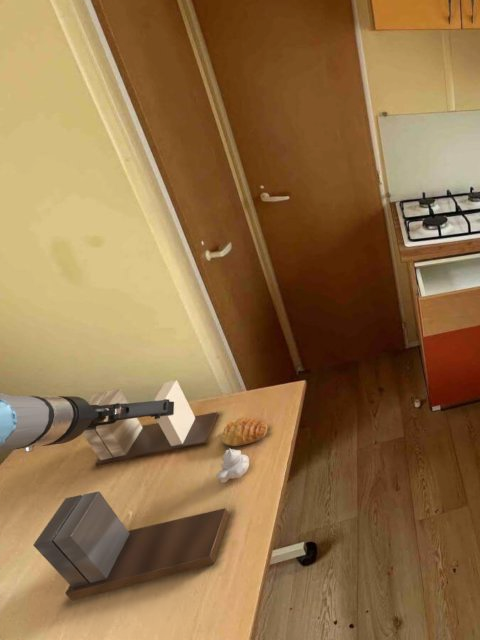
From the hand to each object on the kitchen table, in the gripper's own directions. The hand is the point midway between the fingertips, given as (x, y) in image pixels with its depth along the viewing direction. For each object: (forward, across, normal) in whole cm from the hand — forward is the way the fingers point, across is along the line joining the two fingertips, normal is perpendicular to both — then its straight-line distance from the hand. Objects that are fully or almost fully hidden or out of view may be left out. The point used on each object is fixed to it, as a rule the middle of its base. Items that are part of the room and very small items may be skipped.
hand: (134, 415), depth 87 cm
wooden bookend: (+20, -5, -5) cm, 21 cm away
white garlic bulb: (+9, +16, -16) cm, 24 cm away
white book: (+19, 0, -5) cm, 19 cm away
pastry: (+17, +15, -8) cm, 24 cm away
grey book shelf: (-1, +6, -26) cm, 27 cm away
